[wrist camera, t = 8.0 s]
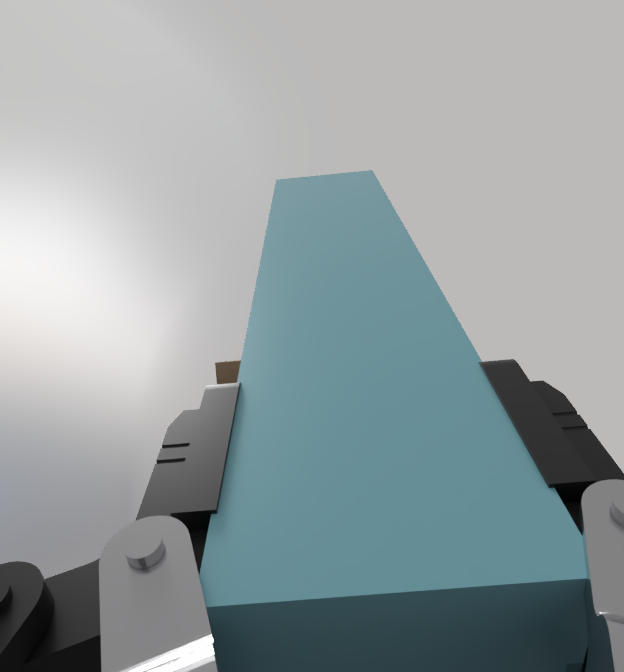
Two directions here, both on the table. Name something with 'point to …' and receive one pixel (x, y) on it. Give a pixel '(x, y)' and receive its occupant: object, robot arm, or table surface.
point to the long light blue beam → (378, 470)
